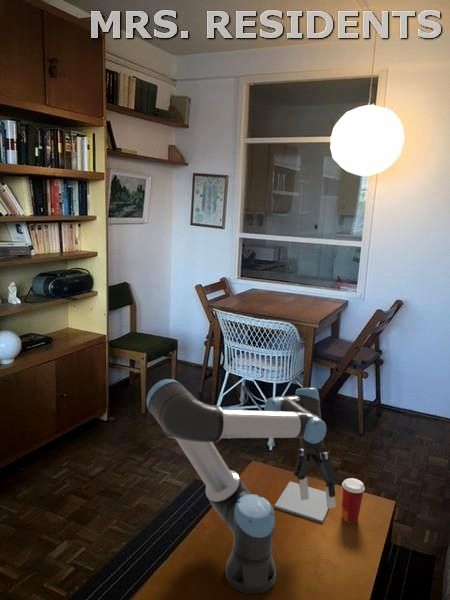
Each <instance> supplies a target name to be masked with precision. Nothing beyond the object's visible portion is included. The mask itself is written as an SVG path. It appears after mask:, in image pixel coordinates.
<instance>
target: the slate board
mask: <svg viewBox="0 0 450 600" xmlns="http://www.w3.org/2000/svg"><path fill="white" fill-rule="evenodd" d="M308 493H309V499H307V500H303V501H302V500H301V493H300V487H299V482H298V483H297V482H293V481H291V480H290V481H289V482H288V484H287V485H286V487H285V489H284V490H283V492H282V493H281V495H280V496H279V498H278V500H277V501H276V503H274V506H273V509H277V510H280V511H282V512H286V513H288V514H289V513H290V514H292V515H296V516H299V517H302V518H304V519H308V520H311V521H315V522H317V523H321V524H323V523H324V521H325V519H326V516H327V514H328V511H329V510H330V508H329V509H328V508H327V499H326V491H325V490H321V489H317V488H314V487H311V486H308Z"/></svg>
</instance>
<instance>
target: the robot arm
mask: <svg viewBox="0 0 450 600" xmlns="http://www.w3.org/2000/svg"><path fill="white" fill-rule="evenodd" d="M145 402H146V407H147V409H148V411H149V413H150V414H151V415H153V417H154V418H155V420H156V421H157V423H158V424H159V426H160V427H161V429H162V430H163V432H164V433H165V435H166V436H167V437H168V438H171V439H175V440H176V442H177V443H178V445H179V446H180V449H182V451H183V453H184V454H185V455H186V457H187V459H188V461H189V462H190V463H191V465H192V466H193V468H194V470H195V471H196V473H197V474H198V476H199V478H200V479H201V480H202V483H204V485H205V495H206V498H207V499H208V500H209V504H210V505H211V507H212V509H214V511H215V512H216V513H217V514H218V515H219V517H220V518H221V519H222V521H223V522H224V523H225V524H226V526H227V527H228V528H229V530H230V531H231V532H232V535H233V536H232V537H233V540H232V541H233V542H232V550H231V553H229V554H230V555H229V557H228V559H227V562H226V564H225V577H226V581H227V582H228V584H229V585H230V586H231V587H232V588H233V589H235V590H236V591H239V592H241V593H243V594H247V595H260V594H264V593H265V592H267V591H269V590H271V588H272V587H274V585H275V583H276V578H277V568H276V565H275V560H274V558H273V552H272V551H273V541H274V529H275V524H276V521H275V520H276V519H275V511H274V506H273V505H272V503H270V501H268V499H266V498H264V497H263V496H259V495H257V494H252V493H251V492H250V491H249V490H248V488H247V487H246V486H245V484H244V483H243V480H242V479H241V478H240V476H239V474H238V473H237V472H236V471H235V470H231V469H229V467H228V465H227V464H226V462H225V460H224V459H223V457H222V456H221V454H220V452H219V451H218V449H217V447H216V446H215V444H214V443H218V442H220V440H221V439H274V438H275V439H278V438H280V439H287V438H289V439H293V438H294V439H299V441H300V447H301V448H299V449H297V458H296V463H295V467H294V473H293V475H294V477H296V478H297V479H298V484H299V487H300V493H301V500H302V501H303V500H307V499H309V493H308V487H309V484H308V477H307V475H308V472H309V470H310V468H311V466H314V467H315V468H316V469H318V472H319V473H320V475H321V477H322V479H323V480H324V482H325V486H324V488H325V492H326V499H327V508H328V509H329V510H330V509H333V508H336V507H337V506H336V490H335V489H336V487H335V486H336V485H339V484H340V481H339V479H338V476H337V473H336V471H335V468H334V465H333V463H332V460H331V457H330V452H329V451H325V452H323V448H324V447H325V443H324V441H325V440H324V438H325V436H326V432H327V425H326V423H325V421H324V420H322V414H321V412H322V411H321V400H320V395H319V390H318V388H316V387H303V388H302V387H301V388H297V389H296V390H295V394H294V395H285V396H284V395H283V396H281V395H280V396H274V397H268V399H266V401H265V403H264V410H255V409H254V410H252V409H251V410H250V409H249V410H248V409H247V410H246V409H225V408H224V409H222V408H221V406H219V405H216V404H215V405H214V404H207V403H204V402H202V401H200V400H199V399H197V398H196V397H195V396H194V395H193V394H192V393H191V392H190V391H188V389H187V388H186V387H185V386H184V385H183V384H182V383H181V382H178V381H177V380H175V379H171V378H166V379H162V380H160V381H158V382H157V383H155V384H153V386H152V387H151V388H150V389H149V391H148V393H147V397H146V401H145Z"/></svg>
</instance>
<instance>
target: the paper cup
mask: <svg viewBox="0 0 450 600" xmlns="http://www.w3.org/2000/svg"><path fill="white" fill-rule="evenodd" d="M341 486H342V499H341V500H342V501H341V518H342V520H343V521H344V522H346V523H348V524H355V523H357V522H358V521H359V516H360V510H361V506H362V505H361V504H362V501H363V496H364V495H363V494H364V491H365V485H364V483H363V482H362V481H361V480H359V479H357V478H353V477H351V478H350V477H349V478H346V479H344V480H343V482H342V483H341Z"/></svg>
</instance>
